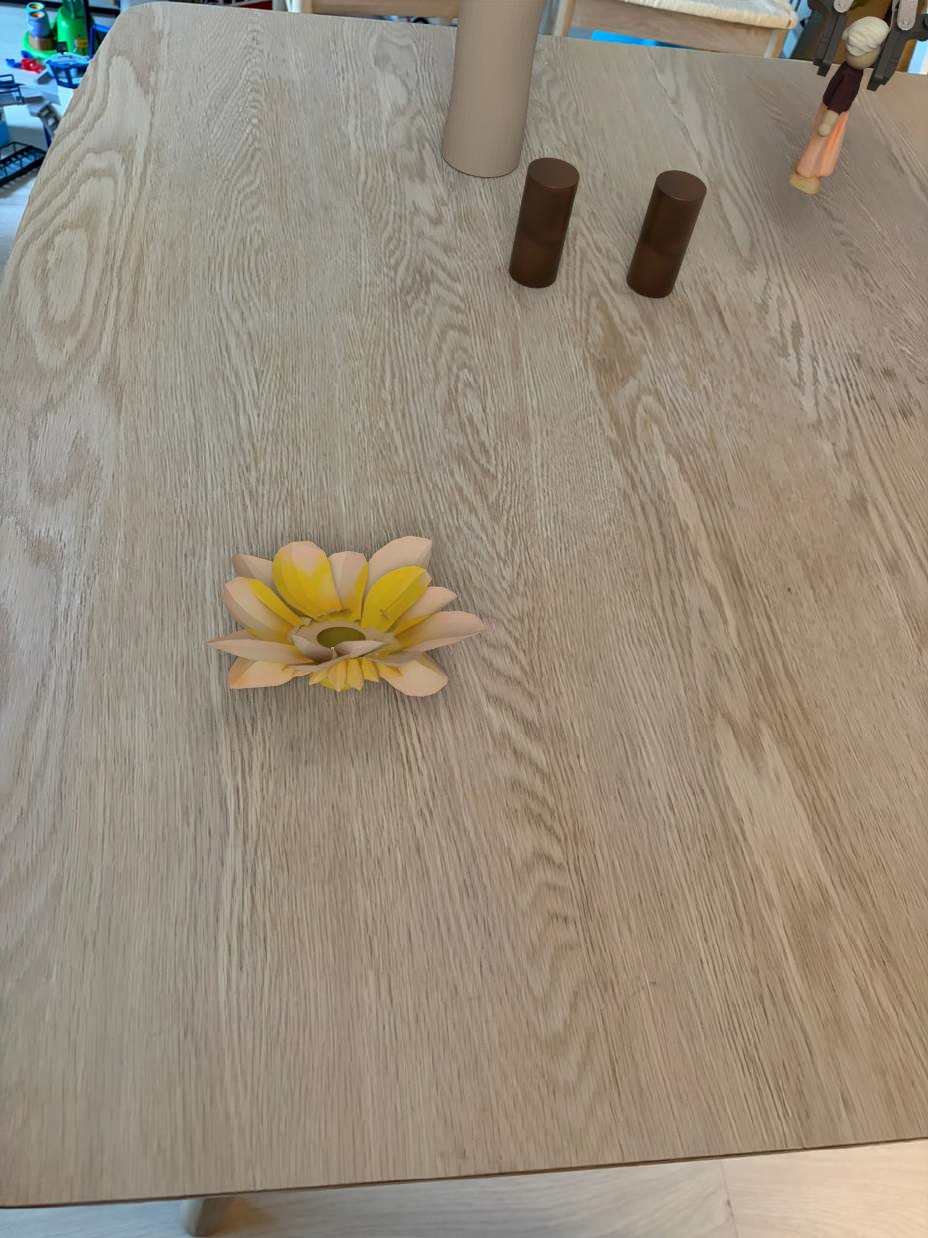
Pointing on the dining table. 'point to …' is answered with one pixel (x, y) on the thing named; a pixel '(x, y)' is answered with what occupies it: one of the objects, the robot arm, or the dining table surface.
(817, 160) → the grandmother figurine
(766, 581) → the dining table surface
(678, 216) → the marker row
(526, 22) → the candle
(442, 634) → the decorative flower
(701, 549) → the dining table surface
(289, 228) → the dining table surface
